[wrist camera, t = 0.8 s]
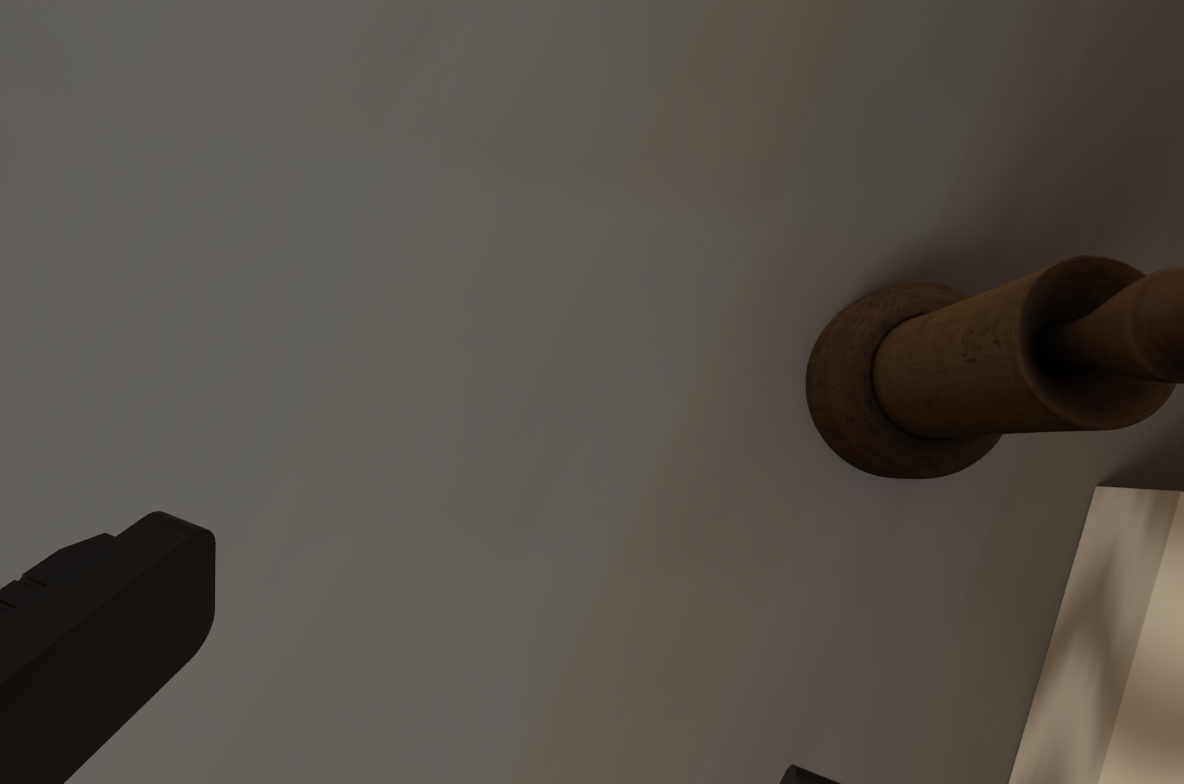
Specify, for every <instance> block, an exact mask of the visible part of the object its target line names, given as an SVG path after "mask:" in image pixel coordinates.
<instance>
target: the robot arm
mask: <svg viewBox="0 0 1184 784" xmlns="http://www.w3.org/2000/svg"><path fill="white" fill-rule="evenodd" d="M215 549H216V544H215V537H214V535H213V533H212V532H211V531H210V530H207V529H205V528H202V527H200V526H197V525H195V524H192V523H190V522H187V521H185V520H182V519H180V518H177V517H175V516H172V515H170V514H167V513H165V512H162V511H157V512H152V513H150V514H148V515H146V516H145V517H143V518H142V519H140V520H139V521H137V522H136V523H135V524H133V525H132V526H130V527H129V528H127V529H126V530H125V531H123V532H122V533H120V534H119V535H118V536H116V537H114V536H112V535H109V534H107V533H103V534H100V535H98V536H95V537H92V538H89V539H87V540H84V541H81V542H78V543H76V544H73V545H70V546H67V547H65V548H62V549H59V550H58V551H56V552H55V553H53V554H52V555H51V556H49V557H48V558H46V559H45V560H43V561H42V562H40V563H39V564H37V565H36V566H34V567H33V568H31V569H30V570H28V571H27V572H25V573H24V574H22V577H21V579H20V580H19V581H16V580H14V581H12V582H11V583H9V584H8V585H6V586H5V587H3V588H2V589H0V784H64V783H65V782H66V781H67V780H68V779H69V778H70V777H71V776H72V775H73V774H74V773H75V772H76V771H77V770H78V769H79V768H80V767H81V766H82V765H83V764H84V763H85V762H86V761H87V760H88V759H89V758H90V757H91V756H92V755H93V754H94V753H95V752H96V751H97V750H98V749H99V748H100V747H101V746H103V745H104V744H105V743H106V742H107V741H108V740H109V739H110V738H111V737H112V736H113V735H114V734H115V733H116V732H117V731H118V730H119V729H120V728H121V727H122V726H123V725H124V724H125V723H126V722H127V721H128V720H129V719H130V718H131V717H132V716H133V715H134V714H135V713H136V712H137V711H138V710H139V709H140V708H141V707H142V706H143V705H145V704H146V703H147V702H148V701H149V700H150V699H151V698H152V697H153V696H154V695H155V694H156V693H157V692H158V691H159V690H160V689H161V688H162V687H163V686H164V685H165V684H166V683H167V682H168V681H169V680H170V679H171V678H172V677H173V676H174V675H175V674H176V673H177V672H178V671H179V670H180V669H181V668H182V667H183V666H184V665H185V664H186V663H188V662H189V661H190V660H191V658H192V657H193V656H194V655H195V654H196V653H197V652H198V650H199V649H200V647H201V646H202V644H203V643H204V641H205V639H206V638H207V636H208V633H209V631H210V629H211V626H212V623H213V620H214V614H215ZM780 784H840V783H838V782H835V781H833V780H830V779H828V778H825V777H823V776H820V775H818V774H815V773H813V772H810V771H808V770H805V769H803V768H800V767H798V766H795V765H790V766H789V768H788V769H787V770H786V772H785V774H784V776H783V778H782V780H781V782H780Z"/></svg>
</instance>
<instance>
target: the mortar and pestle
mask: <svg viewBox="0 0 1184 784" xmlns="http://www.w3.org/2000/svg"><path fill="white" fill-rule="evenodd" d="M1177 383H1184V268H1181V267H1176V268H1168V269H1163V270H1160V271H1157V272H1154V273H1152V274H1150V275H1148V276H1146V275H1145V274H1144V273H1142V272H1141V271H1139V270H1137V269H1135V268H1134V267H1132V266H1130V265H1128V264H1126V263H1123V262H1121V261H1118V260H1115V259H1111V258H1107V257H1101V256H1088V255H1086V256H1077V257H1072V258H1069V259H1066V260H1063V261H1061V262H1058V263H1056V264H1053V265H1050V266H1048V267H1046V268H1043V269H1041V270H1038V271H1036V272H1033V273H1031V274H1028V275H1026V276H1024V277H1021V278H1019V279H1016V280H1014V281H1011V282H1009V283H1006V284H1004V285H1001V286H999V287H996V288H994V289H991V290H989V291H986V292H984V293H981V294H979V295H976V296H973V297H971V296H969V295H968V294H966V293H964V292H962V291H960V290H958V289H955V288H953V287H950V286H947V285H943V284H938V283H932V282H908V283H902V284H897V285H894V286H890V287H887V288H885V289H882V290H880V291H878V292H876V293H874V294H872V295H869V296H867V297H864V298H862V299H860V300H858V301H857V302H855V303H853V304H851V305H850V306H848V307H847V308H845V309H844V310H843V311H842V312H840V313H839V314H838V315H837V316H836V317H835V318H834V319H833V320H832V321H831V322H830V323H829V324H828V325H827V326H826V328H825V329H824V330H823V332H822V333H821V335H820V336H819V338H818V340H817V342H816V344H815V346H814V348H813V350H812V353H811V356H810V359H809V362H808V366H807V373H806V396H807V402H808V406H809V410H810V414H811V416H812V419H813V421H814V424H815V426H816V428H817V430H818V431H819V433H820V434H821V436H822V438H823V439H824V441H825V442H826V443H827V444H828V445H829V447H830V448H831V449H832V450H833V451H834V452H835V453H836V454H837V455H838V456H840V457H841V458H842V459H843V460H845V461H846V462H847V463H849V464H851V465H852V466H854V467H856V468H858V469H860V470H862V471H864V472H867V473H870V474H873V475H877V476H881V477H887V478H901V479H929V478H937V477H942V476H946V475H950V474H953V473H956V472H958V471H961V470H963V469H965V468H967V467H969V466H971V465H972V464H974V463H975V462H977V461H978V460H980V459H981V458H982V457H983V456H985V455H986V454H987V453H988V452H989V451H990V450H991V449H992V448H993V447H994V445H995V444H996V443H997V442H998V440H999V439H1000V438H1001V436H1002V435H1003V434H1011V433H1033V432H1062V431H1098V430H1113V429H1120V428H1124V427H1128V426H1131V425H1134V424H1136V423H1138V422H1141V421H1143V420H1144V419H1146V418H1148V417H1149V416H1151V415H1152V414H1153V413H1155V412H1156V411H1157V410H1158V409H1159V408H1160V407H1161V406H1162V405H1163V404H1164V403H1165V402H1166V401H1167V399H1168V398H1169V396H1170V395H1171V394H1172V392H1173V390H1174V388H1175V386H1176V384H1177Z"/></svg>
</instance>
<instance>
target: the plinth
mask: <svg viewBox="0 0 1184 784" xmlns="http://www.w3.org/2000/svg"><path fill="white" fill-rule="evenodd" d="M1009 784H1184V492H1182V491H1168V490H1151V489H1133V488H1116V487H1099V486H1096V488H1095V491H1094V494H1093V498H1092V501H1091V505H1090V508H1089V511H1088V515H1087V518H1086V522H1085V525H1084V528H1083V532H1082V535H1081V539H1080V542H1079V546H1078V549H1077V552H1076V556H1075V559H1074V563H1073V566H1072V569H1071V573H1070V576H1069V580H1068V583H1067V586H1066V590H1065V593H1064V597H1063V600H1062V603H1061V607H1060V610H1059V614H1058V617H1057V620H1056V624H1055V627H1054V631H1053V634H1052V637H1051V641H1050V644H1049V648H1048V651H1047V654H1046V658H1045V661H1044V665H1043V668H1042V671H1041V675H1040V678H1039V682H1038V685H1037V688H1036V692H1035V695H1034V699H1033V702H1032V705H1031V709H1030V712H1029V716H1028V719H1027V723H1026V726H1025V729H1024V733H1023V736H1022V740H1021V743H1020V746H1019V750H1018V753H1017V757H1016V760H1015V763H1014V767H1013V770H1012V774H1011V777H1010V780H1009Z"/></svg>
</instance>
